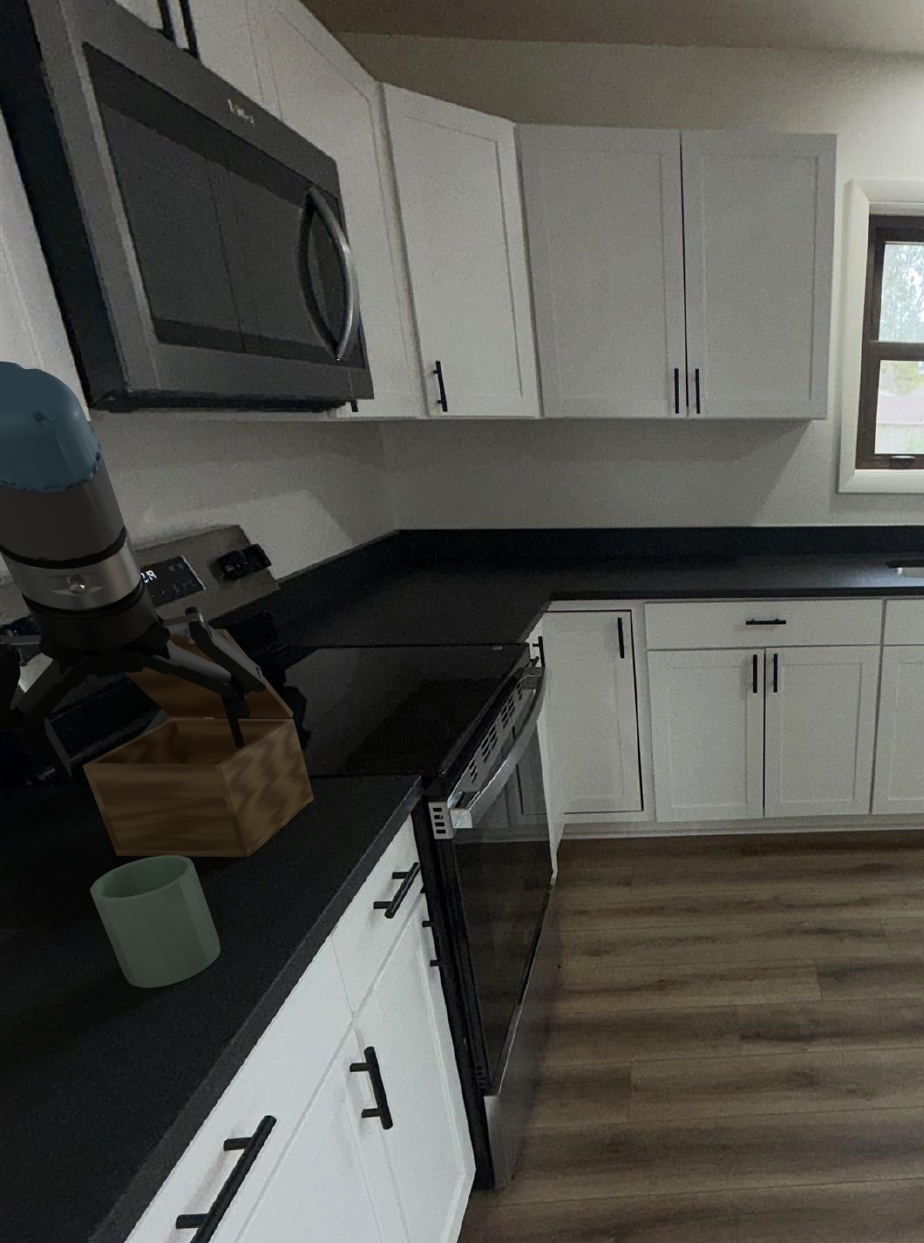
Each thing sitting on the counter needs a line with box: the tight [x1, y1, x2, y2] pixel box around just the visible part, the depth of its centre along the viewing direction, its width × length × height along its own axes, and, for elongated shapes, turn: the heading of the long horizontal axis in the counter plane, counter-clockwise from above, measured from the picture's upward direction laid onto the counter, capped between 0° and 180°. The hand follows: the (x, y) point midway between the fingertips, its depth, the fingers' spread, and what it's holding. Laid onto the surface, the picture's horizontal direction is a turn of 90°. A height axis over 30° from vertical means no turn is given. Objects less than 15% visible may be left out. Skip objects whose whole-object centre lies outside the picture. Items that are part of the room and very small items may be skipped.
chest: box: [82, 718, 315, 858], centre depth 104 cm, size 16×17×12 cm
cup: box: [89, 855, 222, 989], centre depth 78 cm, size 8×8×10 cm
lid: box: [125, 628, 294, 719], centre depth 101 cm, size 16×17×1 cm
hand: (155, 752), depth 77 cm, fingers open, 13 cm apart
